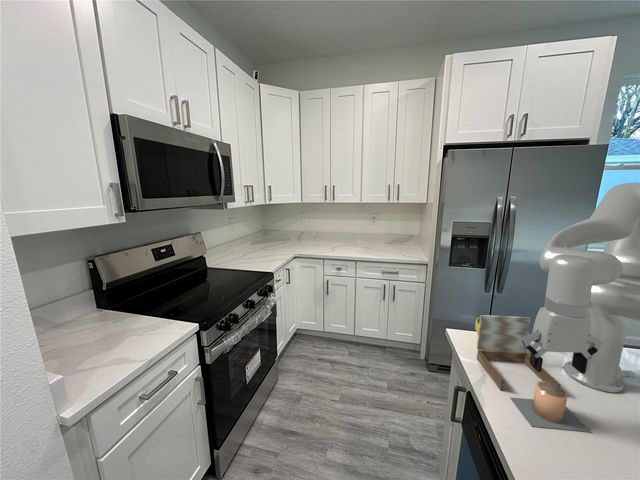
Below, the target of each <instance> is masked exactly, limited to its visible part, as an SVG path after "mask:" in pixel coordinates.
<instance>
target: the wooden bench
mask: <svg viewBox="0 0 640 480" xmlns="http://www.w3.org/2000/svg"><path fill="white" fill-rule="evenodd" d="M479 318H480V323H479V332H478V335H477V342H476V343H477V344H476V350H477V355H476V360H477V361H478V362H479V364H480V365H481V366H482V368H483V369H484V370H485V372H486V373H487V374H488V376H489V377H490V379H491V380H492V381H493V383H494V384H495V385H496V387H497V388H498V389H499V391H500V392H503V391H504V383H505V380H504V378H503V377H502V376H501V374H500V373H499V372H498V371H497V370H496V368H495V367H494V366H493V365H492V363H491V362H498V363H499V362H500V363H501V362H502V363H513V364H514V363H516V364H524V363H525V364H526V365H527V366H528V367H529V368H530V369H531V370H532V371H533V372H534V373H535V374H534V373H533V372H532V371H531V370H530V369H529V368H528V367H527V366H526V365H525V364H524V365H525V366H526V367H527V368H528V369H529V370H530V371H531V372H532V373H533V374H534V375H535V376H536V377H537V378H538V379H541V380H542V381H546V382H550V383H553V384H555V385H557V386H559V387H561V386H562V385H561V384H560V383H559V382H558V380H556V378H555V377H553V376H552V375H551V374H550V373H549V372H548V371H547V370H546V369H545V368H543V367H542V370H541V372H537V371H536V370H535V369H534V368H533V367H532V366H531V365H530V362H529V361H530V355H529V354H528V353H527V350H528V349H527V348H526V347H524V344H523V343H522V341H521V337H523V336H526V335H528V334H530V328H531V327H530V326H531V320H532V317H529V316H528V317H527V316H511V315H510V316H507V315H486V314H485V315H482V314H480V315H479ZM487 350H493V351H487ZM541 380H540V381H541Z"/></svg>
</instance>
